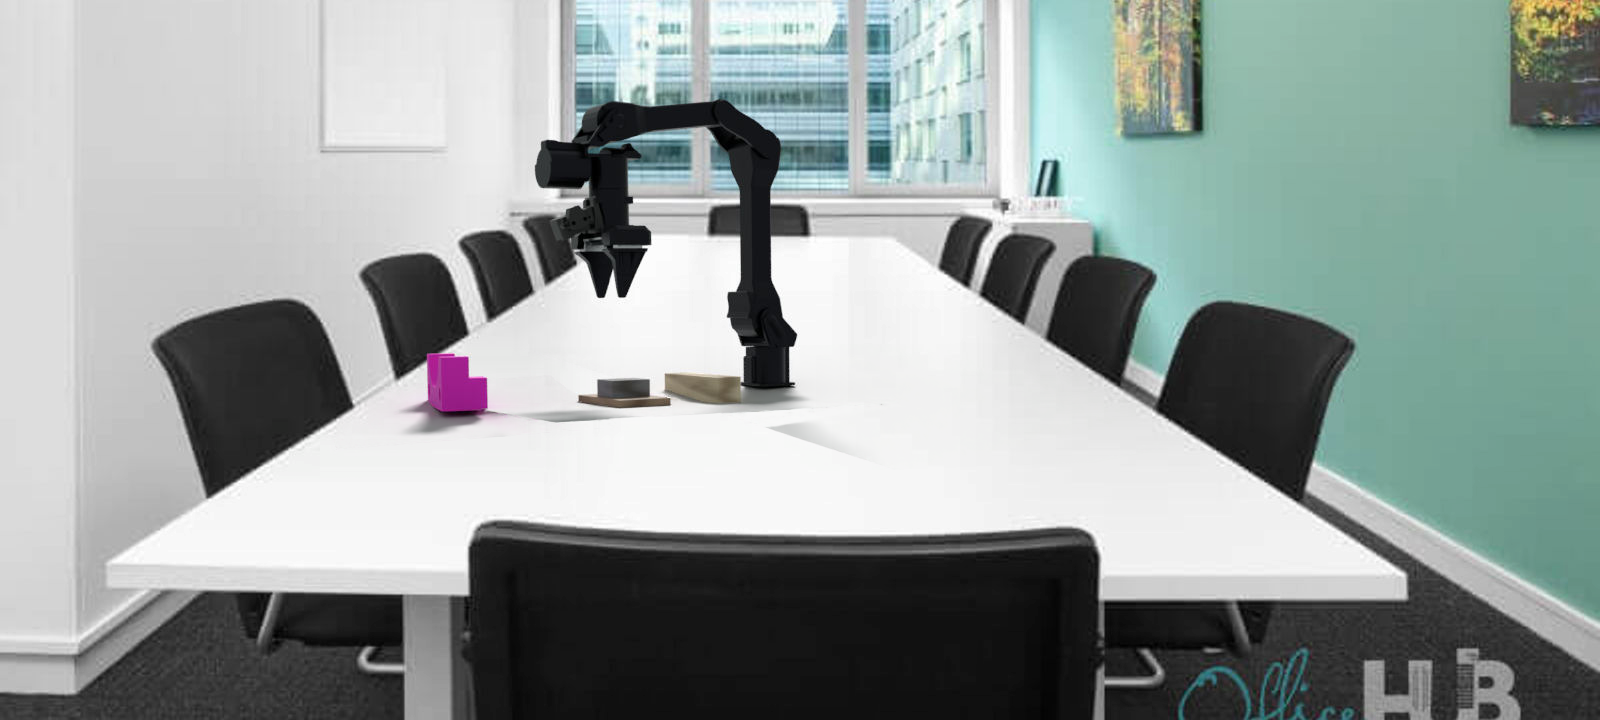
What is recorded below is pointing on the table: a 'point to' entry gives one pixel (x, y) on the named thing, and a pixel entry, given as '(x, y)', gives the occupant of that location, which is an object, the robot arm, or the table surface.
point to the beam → (705, 386)
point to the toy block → (454, 384)
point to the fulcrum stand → (624, 393)
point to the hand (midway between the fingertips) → (611, 297)
